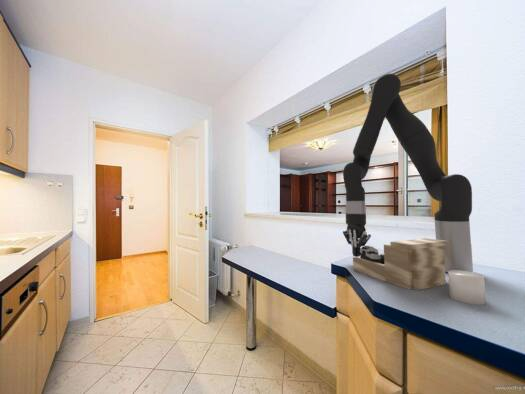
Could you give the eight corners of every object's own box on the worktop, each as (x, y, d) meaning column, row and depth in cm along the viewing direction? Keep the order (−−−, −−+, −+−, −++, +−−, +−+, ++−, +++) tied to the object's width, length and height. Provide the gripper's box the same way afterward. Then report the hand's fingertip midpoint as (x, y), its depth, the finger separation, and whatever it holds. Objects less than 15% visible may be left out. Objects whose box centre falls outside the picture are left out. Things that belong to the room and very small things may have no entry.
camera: (397, 276, 71) (395, 247, 72) (372, 275, 71) (371, 247, 72) (378, 268, 84) (376, 244, 85) (357, 268, 84) (356, 244, 85)
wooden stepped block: (385, 265, 84) (383, 233, 85) (450, 282, 64) (448, 240, 65) (352, 270, 78) (351, 236, 79) (413, 291, 58) (411, 244, 59)
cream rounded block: (459, 292, 57) (457, 269, 57) (492, 301, 51) (490, 275, 51) (443, 296, 55) (442, 271, 55) (476, 306, 49) (474, 279, 49)
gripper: (376, 213, 82) (377, 259, 82) (350, 212, 95) (351, 252, 94) (361, 213, 80) (362, 261, 79) (336, 212, 92) (337, 253, 91)
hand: (356, 256), depth 87 cm, fingers closed
